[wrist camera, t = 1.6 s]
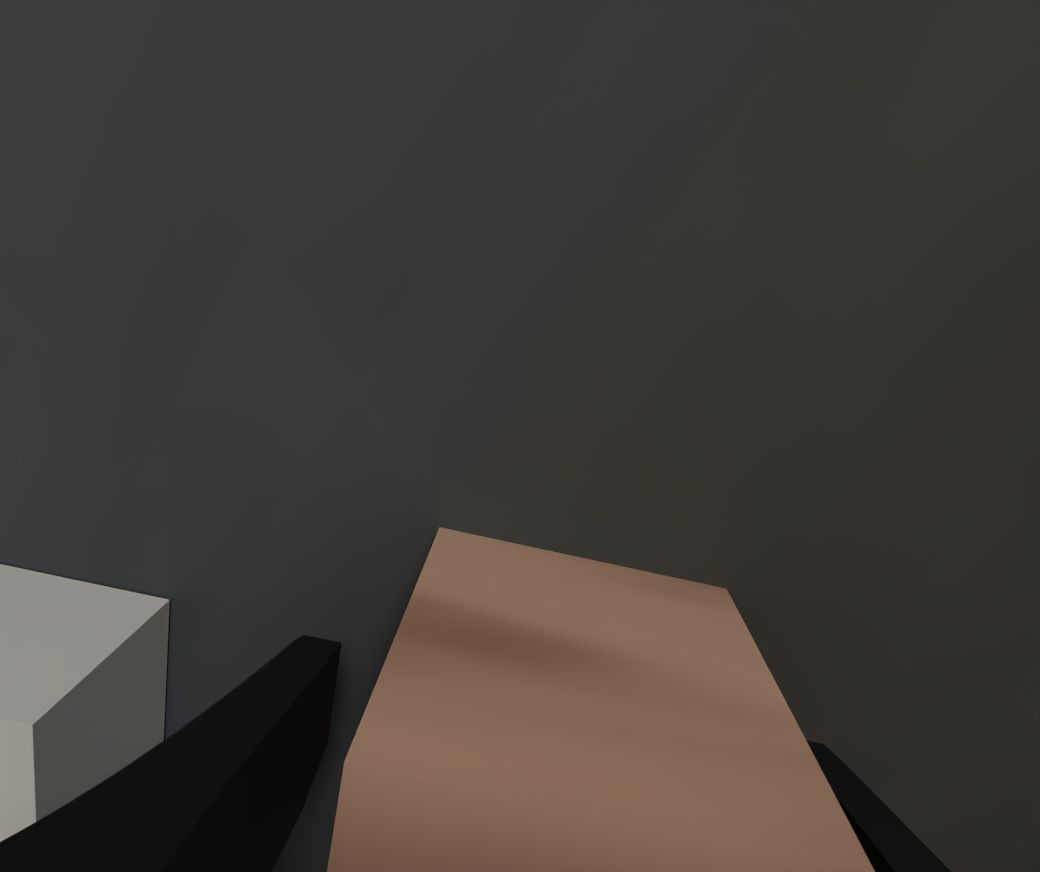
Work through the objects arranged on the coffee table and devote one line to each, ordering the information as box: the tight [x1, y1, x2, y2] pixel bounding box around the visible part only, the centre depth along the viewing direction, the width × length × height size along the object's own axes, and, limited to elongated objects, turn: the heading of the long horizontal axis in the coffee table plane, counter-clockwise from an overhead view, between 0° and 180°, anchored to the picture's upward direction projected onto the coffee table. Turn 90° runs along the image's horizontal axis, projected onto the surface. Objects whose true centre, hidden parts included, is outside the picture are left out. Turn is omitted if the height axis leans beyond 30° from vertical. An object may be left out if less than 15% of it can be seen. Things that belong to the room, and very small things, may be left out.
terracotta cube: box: [327, 527, 875, 872], centre depth 9 cm, size 5×5×5 cm
